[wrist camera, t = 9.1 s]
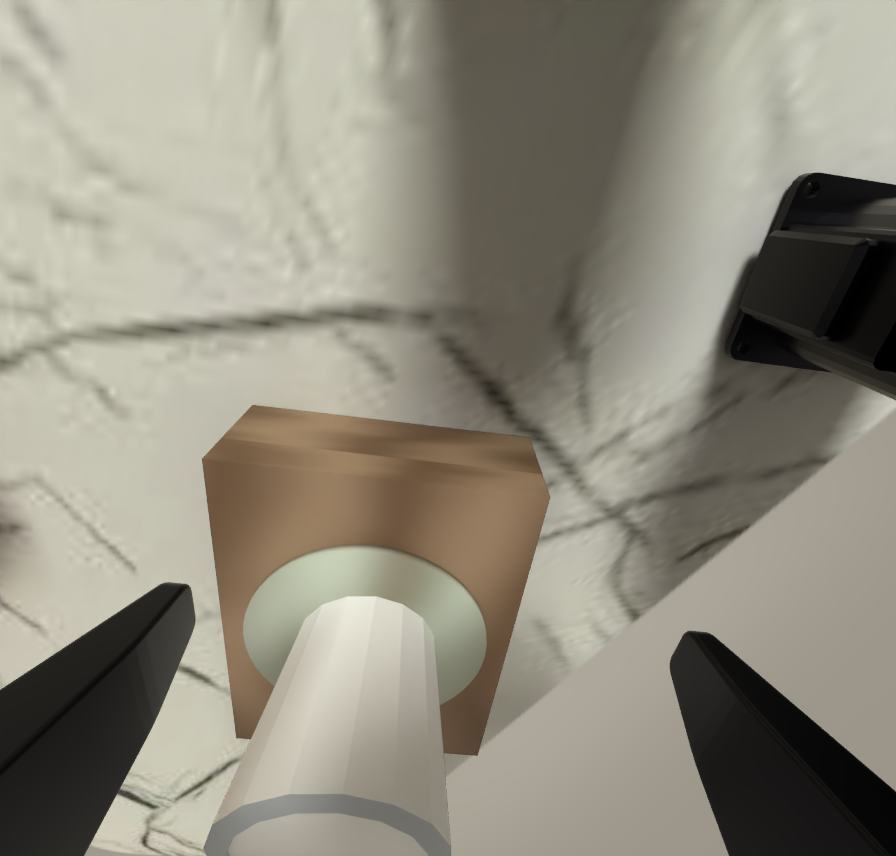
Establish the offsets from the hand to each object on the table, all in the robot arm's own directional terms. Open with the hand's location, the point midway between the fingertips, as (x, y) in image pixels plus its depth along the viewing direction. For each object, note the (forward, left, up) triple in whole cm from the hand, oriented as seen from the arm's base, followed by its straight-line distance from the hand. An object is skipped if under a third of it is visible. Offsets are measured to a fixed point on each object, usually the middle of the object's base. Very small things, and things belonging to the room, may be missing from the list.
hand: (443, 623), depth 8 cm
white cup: (+2, +10, -7) cm, 12 cm away
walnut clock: (+2, +10, -12) cm, 16 cm away
